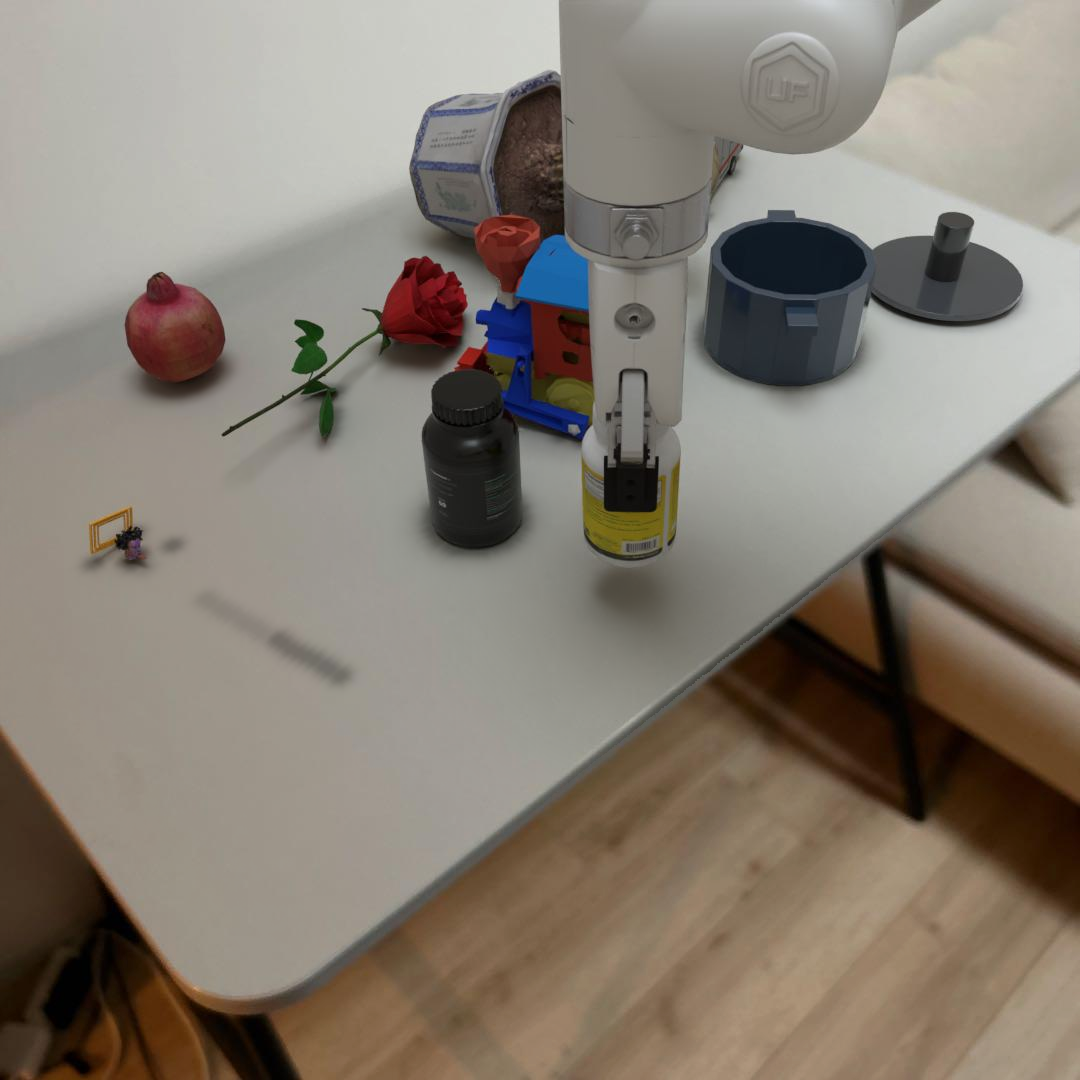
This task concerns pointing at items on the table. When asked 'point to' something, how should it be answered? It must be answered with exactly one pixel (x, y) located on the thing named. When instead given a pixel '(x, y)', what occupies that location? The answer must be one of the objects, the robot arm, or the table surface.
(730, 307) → the pot
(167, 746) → the table surface
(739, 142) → the robot arm
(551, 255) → the toy train
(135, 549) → the golden frame ornament
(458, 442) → the supplement bottle
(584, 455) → the pill bottle
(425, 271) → the flower
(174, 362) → the fruit
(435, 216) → the potted plant
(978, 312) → the lid
